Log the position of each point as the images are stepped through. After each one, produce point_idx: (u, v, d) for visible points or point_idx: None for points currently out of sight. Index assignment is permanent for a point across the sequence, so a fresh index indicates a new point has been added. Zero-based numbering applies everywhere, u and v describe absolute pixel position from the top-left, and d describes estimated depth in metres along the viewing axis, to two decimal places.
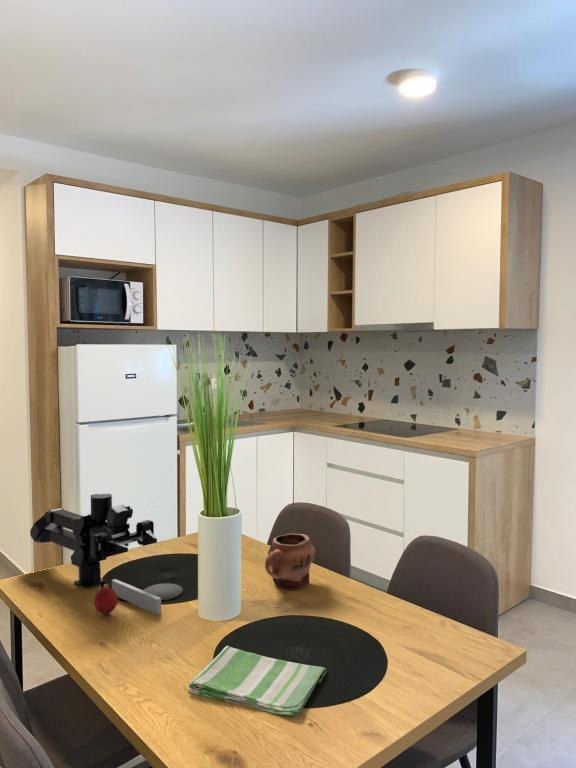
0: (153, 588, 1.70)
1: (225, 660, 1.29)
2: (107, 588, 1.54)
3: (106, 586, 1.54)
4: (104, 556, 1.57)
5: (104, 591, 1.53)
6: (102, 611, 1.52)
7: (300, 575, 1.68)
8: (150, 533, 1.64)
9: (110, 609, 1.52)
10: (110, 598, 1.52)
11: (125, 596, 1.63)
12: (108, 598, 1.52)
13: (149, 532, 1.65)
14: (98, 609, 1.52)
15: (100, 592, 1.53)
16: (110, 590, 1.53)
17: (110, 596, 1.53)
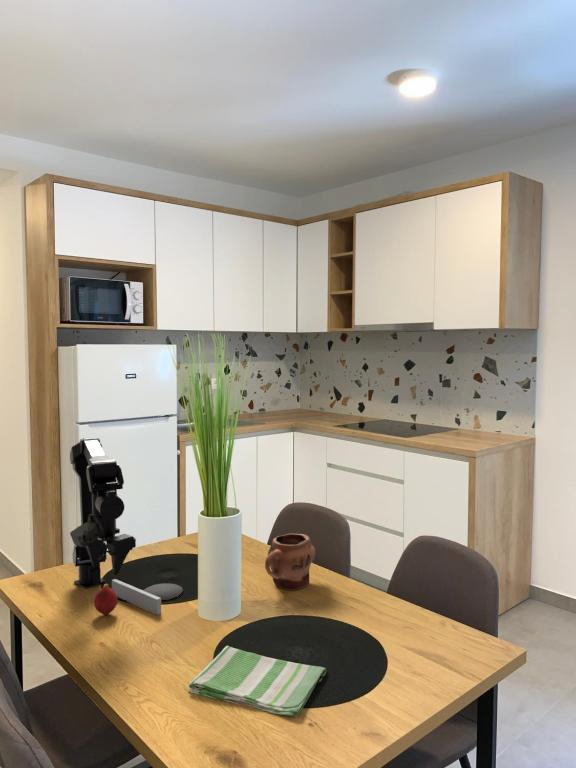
0: (153, 588, 1.70)
1: (225, 660, 1.29)
2: (107, 588, 1.54)
3: (106, 586, 1.54)
4: None
5: (104, 591, 1.53)
6: (102, 611, 1.52)
7: (300, 575, 1.68)
8: (113, 563, 1.49)
9: (110, 609, 1.52)
10: (110, 598, 1.52)
11: (125, 596, 1.63)
12: (108, 597, 1.52)
13: (112, 561, 1.49)
14: (98, 609, 1.52)
15: (100, 592, 1.53)
16: (110, 590, 1.54)
17: (110, 596, 1.53)
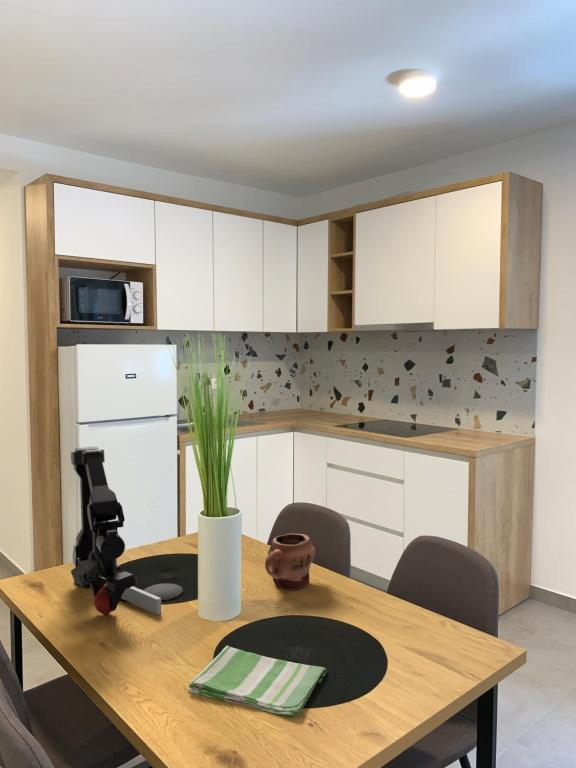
0: (153, 588, 1.70)
1: (225, 660, 1.29)
2: None
3: (106, 586, 1.54)
4: None
5: (104, 591, 1.53)
6: (102, 611, 1.52)
7: (300, 575, 1.68)
8: (110, 599, 1.51)
9: (110, 609, 1.52)
10: None
11: (125, 596, 1.63)
12: (108, 597, 1.52)
13: (110, 597, 1.51)
14: (98, 609, 1.52)
15: (100, 592, 1.53)
16: None
17: None
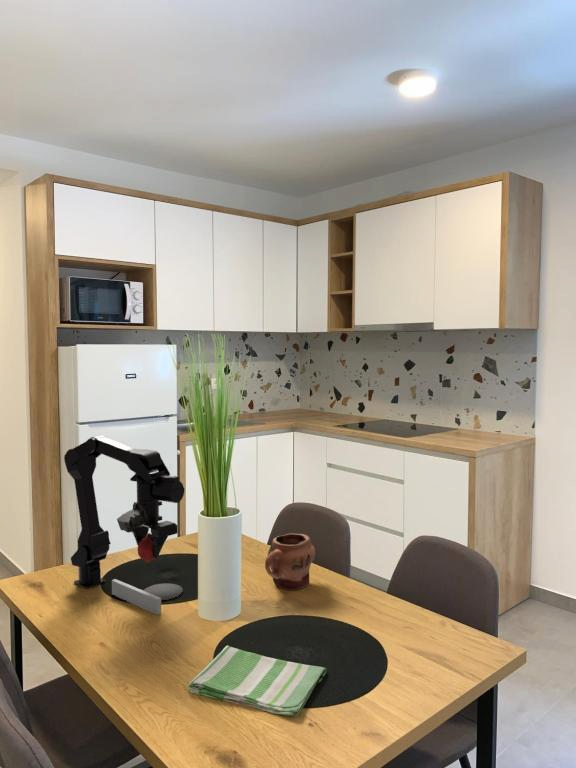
0: (153, 588, 1.70)
1: (225, 660, 1.29)
2: None
3: None
4: None
5: (147, 540, 1.62)
6: (145, 558, 1.61)
7: (300, 575, 1.68)
8: (153, 546, 1.60)
9: None
10: None
11: (125, 596, 1.63)
12: (151, 545, 1.62)
13: (153, 544, 1.60)
14: (142, 556, 1.61)
15: (143, 540, 1.62)
16: None
17: None
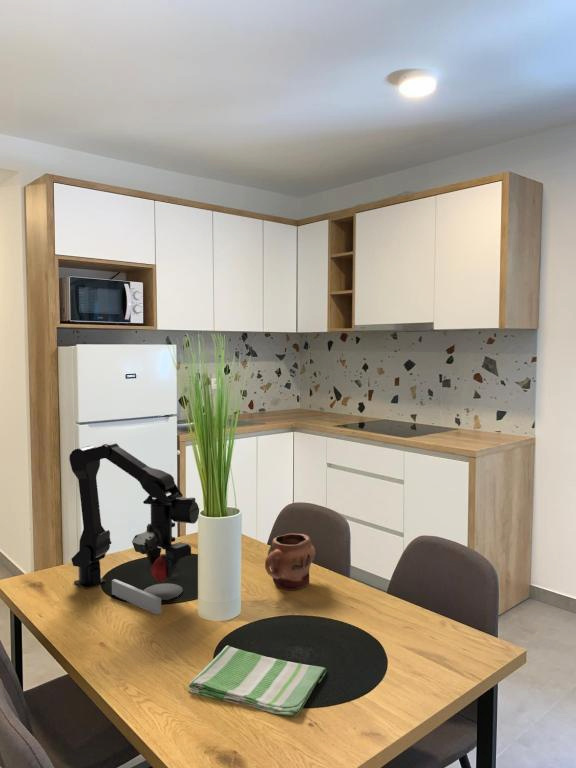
0: (153, 588, 1.70)
1: (225, 660, 1.29)
2: None
3: None
4: None
5: (161, 560, 1.66)
6: (159, 578, 1.65)
7: (300, 575, 1.68)
8: (167, 567, 1.64)
9: (166, 577, 1.66)
10: None
11: (125, 596, 1.63)
12: (165, 566, 1.66)
13: (167, 565, 1.64)
14: (156, 576, 1.65)
15: (157, 561, 1.66)
16: None
17: None
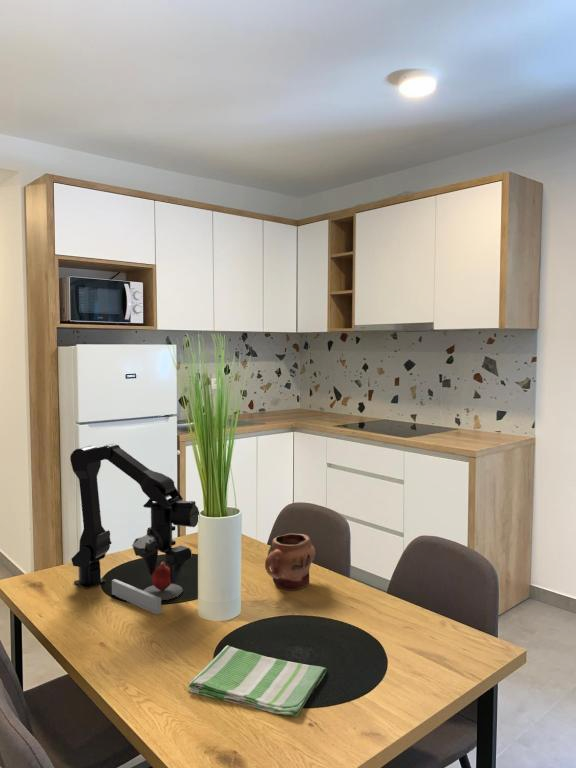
0: (153, 588, 1.70)
1: (225, 660, 1.29)
2: (164, 565, 1.68)
3: (163, 564, 1.68)
4: None
5: (161, 568, 1.67)
6: (160, 586, 1.66)
7: (300, 575, 1.68)
8: (171, 572, 1.63)
9: (167, 585, 1.66)
10: (167, 575, 1.66)
11: (125, 596, 1.63)
12: (165, 574, 1.66)
13: (170, 570, 1.63)
14: (156, 584, 1.66)
15: (158, 569, 1.67)
16: (166, 567, 1.68)
17: (167, 572, 1.67)
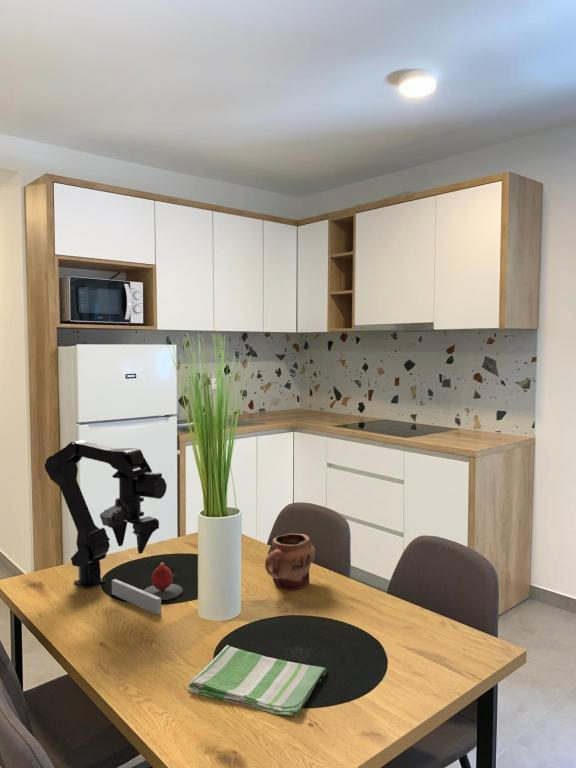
0: (153, 588, 1.70)
1: (225, 660, 1.29)
2: (163, 566, 1.67)
3: (162, 564, 1.67)
4: None
5: (161, 569, 1.66)
6: (159, 587, 1.66)
7: (300, 575, 1.68)
8: (138, 542, 1.64)
9: (166, 585, 1.66)
10: (167, 575, 1.66)
11: (125, 596, 1.63)
12: (165, 575, 1.66)
13: (138, 540, 1.64)
14: (156, 585, 1.65)
15: (157, 570, 1.66)
16: (166, 568, 1.67)
17: (167, 573, 1.66)
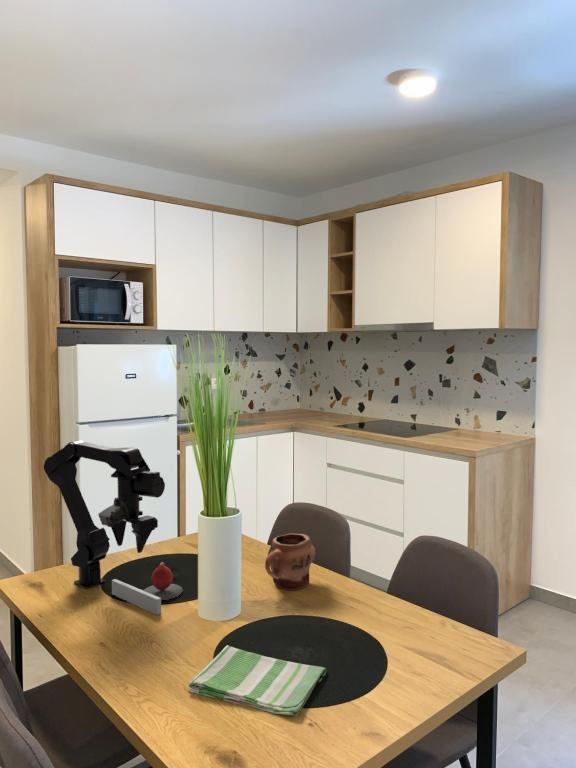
0: (153, 588, 1.70)
1: (225, 660, 1.29)
2: (163, 566, 1.67)
3: (162, 564, 1.68)
4: None
5: (161, 569, 1.66)
6: (159, 587, 1.66)
7: (300, 575, 1.68)
8: (137, 541, 1.64)
9: (166, 585, 1.66)
10: (167, 575, 1.66)
11: (125, 596, 1.63)
12: (165, 575, 1.66)
13: (137, 539, 1.64)
14: (156, 585, 1.65)
15: (157, 570, 1.66)
16: (166, 568, 1.67)
17: (167, 573, 1.66)
